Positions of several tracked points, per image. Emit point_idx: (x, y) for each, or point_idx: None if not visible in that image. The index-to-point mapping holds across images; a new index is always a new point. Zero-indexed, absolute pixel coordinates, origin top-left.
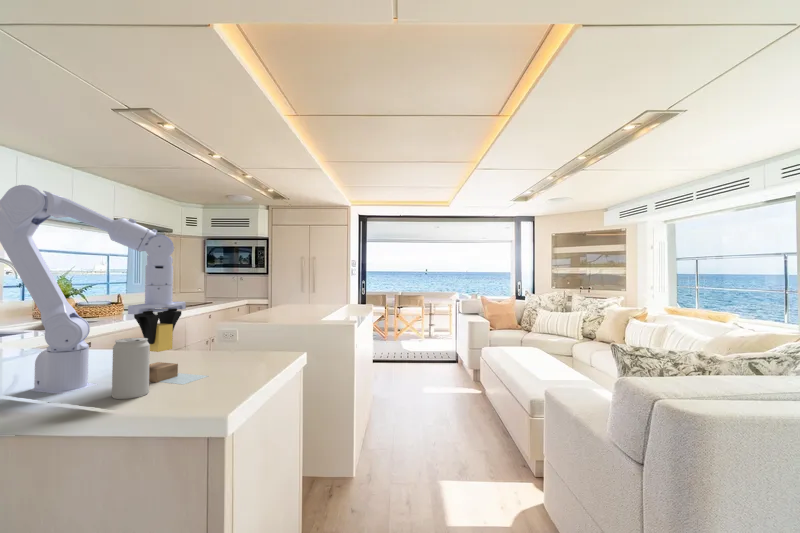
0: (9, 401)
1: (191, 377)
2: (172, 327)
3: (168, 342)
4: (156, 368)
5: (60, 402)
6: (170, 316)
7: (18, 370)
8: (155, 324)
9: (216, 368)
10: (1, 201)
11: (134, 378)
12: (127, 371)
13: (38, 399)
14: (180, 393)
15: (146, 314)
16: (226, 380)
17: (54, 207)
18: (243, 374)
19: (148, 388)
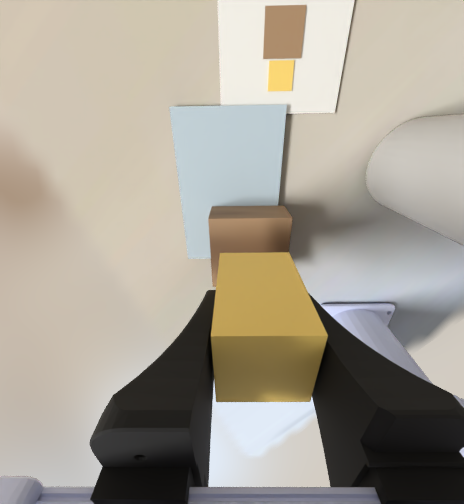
0: (418, 341)
1: (209, 151)
2: (214, 319)
3: (240, 269)
4: (284, 227)
5: (432, 272)
6: (201, 407)
7: (257, 447)
8: (350, 352)
9: (68, 191)
10: None
11: None
12: None
13: (408, 318)
14: (355, 43)
15: (452, 459)
16: (162, 3)
17: None
18: (57, 3)
19: (406, 125)
